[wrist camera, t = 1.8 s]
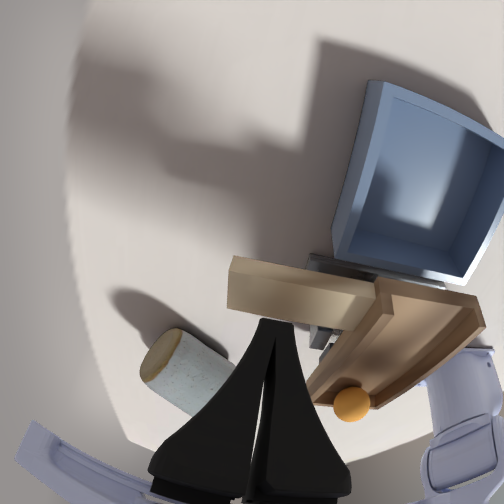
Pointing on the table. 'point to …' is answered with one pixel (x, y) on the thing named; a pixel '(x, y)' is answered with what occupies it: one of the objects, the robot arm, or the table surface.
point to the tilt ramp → (361, 325)
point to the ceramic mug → (184, 370)
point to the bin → (419, 188)
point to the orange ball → (351, 404)
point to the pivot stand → (358, 272)
